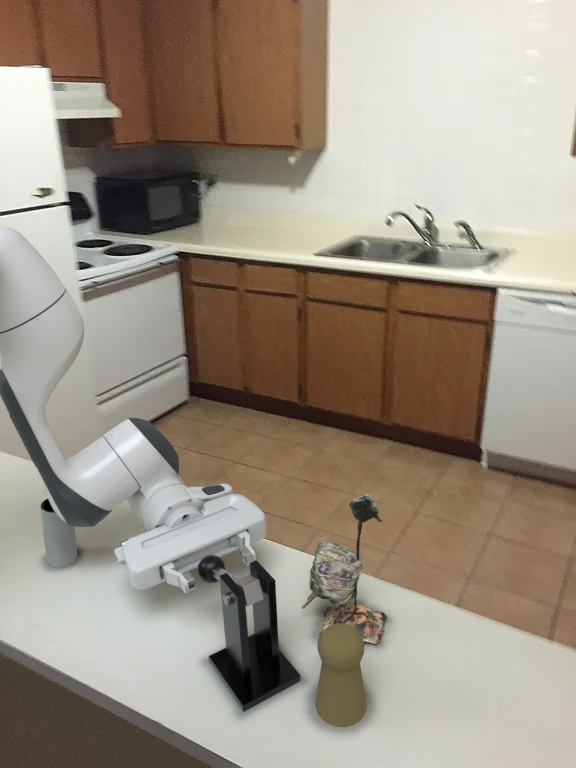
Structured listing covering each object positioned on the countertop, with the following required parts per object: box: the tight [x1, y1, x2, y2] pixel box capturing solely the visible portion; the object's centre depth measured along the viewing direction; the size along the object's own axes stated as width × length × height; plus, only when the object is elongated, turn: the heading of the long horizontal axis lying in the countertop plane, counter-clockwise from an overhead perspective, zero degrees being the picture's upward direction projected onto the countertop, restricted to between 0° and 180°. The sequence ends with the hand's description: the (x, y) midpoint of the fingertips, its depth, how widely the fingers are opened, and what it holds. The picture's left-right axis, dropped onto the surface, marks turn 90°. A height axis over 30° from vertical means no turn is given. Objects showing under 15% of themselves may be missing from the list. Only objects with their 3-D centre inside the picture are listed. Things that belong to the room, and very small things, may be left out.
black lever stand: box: [208, 559, 302, 713], centre depth 80 cm, size 9×8×15 cm
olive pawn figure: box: [314, 623, 367, 728], centre depth 76 cm, size 6×6×11 cm
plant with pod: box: [301, 494, 388, 645], centre depth 86 cm, size 8×11×20 cm
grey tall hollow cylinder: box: [40, 497, 78, 569], centre depth 102 cm, size 4×4×10 cm
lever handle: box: [197, 555, 264, 608], centre depth 83 cm, size 14×4×4 cm, turn 32°
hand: (221, 573), depth 87 cm, fingers open, 7 cm apart
